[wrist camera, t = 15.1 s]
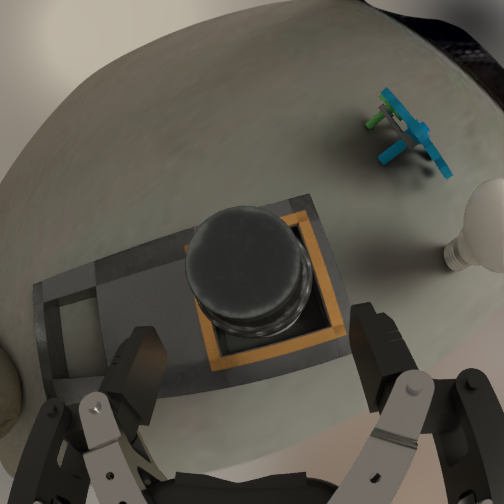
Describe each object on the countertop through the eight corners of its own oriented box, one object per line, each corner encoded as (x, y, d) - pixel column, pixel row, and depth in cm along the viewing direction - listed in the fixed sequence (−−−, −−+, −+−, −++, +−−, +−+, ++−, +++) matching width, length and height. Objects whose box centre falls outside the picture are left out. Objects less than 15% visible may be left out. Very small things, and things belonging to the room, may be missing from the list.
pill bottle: (214, 276, 22) (153, 221, 12) (285, 248, 22) (281, 168, 12) (241, 349, 20) (193, 359, 10) (316, 319, 20) (345, 299, 10)
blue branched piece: (466, 187, 20) (438, 137, 14) (421, 217, 24) (377, 182, 18) (414, 113, 25) (369, 61, 19) (379, 141, 29) (327, 98, 23)
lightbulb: (428, 215, 21) (490, 143, 11) (478, 239, 20) (548, 186, 10) (417, 281, 20) (498, 233, 10) (471, 302, 19) (557, 271, 8)
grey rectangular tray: (63, 399, 20) (46, 402, 18) (48, 289, 24) (31, 284, 22) (354, 348, 19) (363, 349, 17) (307, 207, 23) (309, 191, 21)
